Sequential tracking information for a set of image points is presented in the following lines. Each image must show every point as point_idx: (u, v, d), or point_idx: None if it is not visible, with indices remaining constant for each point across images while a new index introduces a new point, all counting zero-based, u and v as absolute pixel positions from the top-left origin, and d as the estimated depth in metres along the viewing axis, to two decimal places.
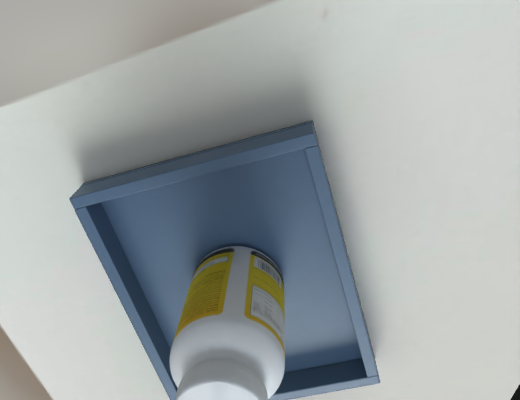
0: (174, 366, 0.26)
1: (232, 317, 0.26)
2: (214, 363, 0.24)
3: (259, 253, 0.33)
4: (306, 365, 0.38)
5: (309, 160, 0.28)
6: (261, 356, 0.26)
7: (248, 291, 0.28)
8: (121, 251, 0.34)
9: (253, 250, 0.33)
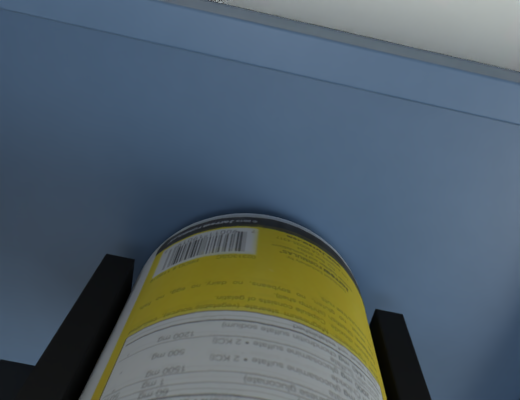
0: None
1: None
2: None
3: (177, 234, 0.13)
4: None
5: None
6: None
7: (104, 375, 0.09)
8: None
9: (165, 241, 0.13)
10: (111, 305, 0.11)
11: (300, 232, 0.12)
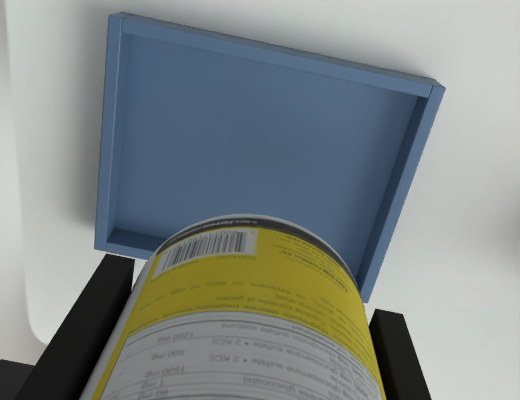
0: None
1: None
2: None
3: (177, 234, 0.13)
4: (393, 154, 0.32)
5: (134, 33, 0.28)
6: None
7: (104, 375, 0.09)
8: None
9: (165, 242, 0.13)
10: (111, 305, 0.11)
11: (300, 233, 0.12)
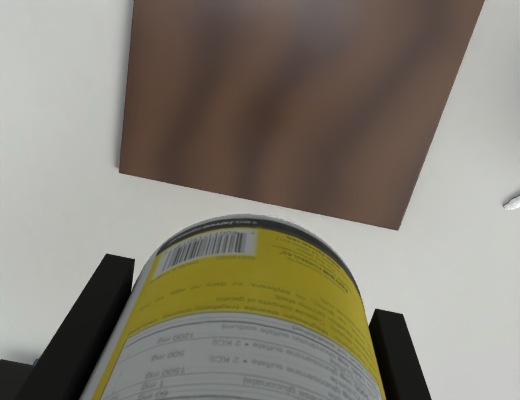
0: None
1: None
2: None
3: (177, 235, 0.13)
4: None
5: None
6: None
7: (104, 376, 0.09)
8: None
9: (165, 242, 0.13)
10: (111, 305, 0.11)
11: (300, 233, 0.12)
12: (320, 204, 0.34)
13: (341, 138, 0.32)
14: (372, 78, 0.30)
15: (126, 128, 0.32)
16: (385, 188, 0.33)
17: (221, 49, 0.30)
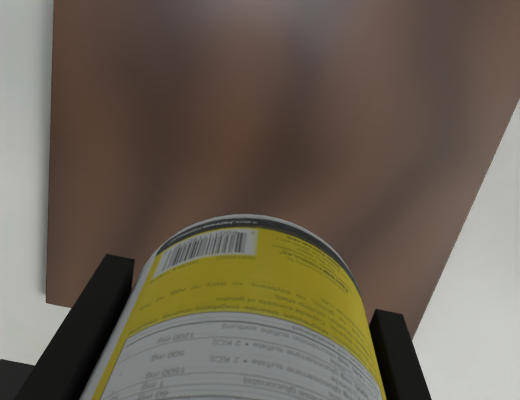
0: None
1: None
2: None
3: (177, 234, 0.13)
4: None
5: None
6: None
7: (104, 376, 0.09)
8: None
9: (165, 242, 0.13)
10: (111, 305, 0.11)
11: (300, 233, 0.12)
12: None
13: None
14: (365, 201, 0.23)
15: (50, 253, 0.25)
16: None
17: (168, 164, 0.23)
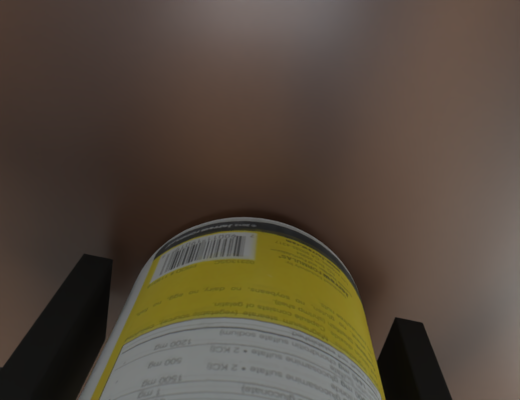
0: None
1: None
2: None
3: (175, 238, 0.12)
4: None
5: None
6: None
7: (99, 383, 0.08)
8: None
9: (163, 245, 0.13)
10: (85, 306, 0.11)
11: (299, 236, 0.12)
12: None
13: None
14: None
15: None
16: None
17: None
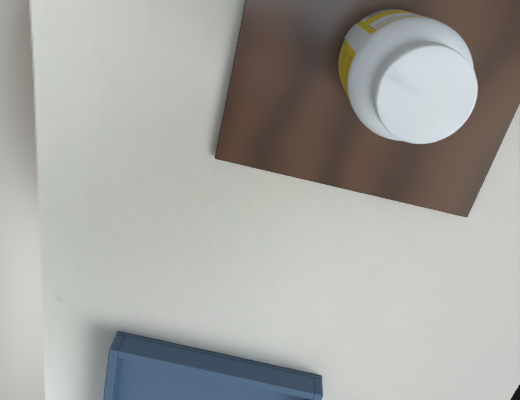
0: (373, 124, 0.26)
1: (363, 44, 0.25)
2: (377, 73, 0.24)
3: (363, 17, 0.32)
4: None
5: (125, 358, 0.44)
6: (412, 35, 0.24)
7: (366, 29, 0.28)
8: None
9: None
10: None
11: None
12: (397, 191, 0.37)
13: None
14: None
15: (225, 118, 0.36)
16: (458, 177, 0.37)
17: (320, 48, 0.33)
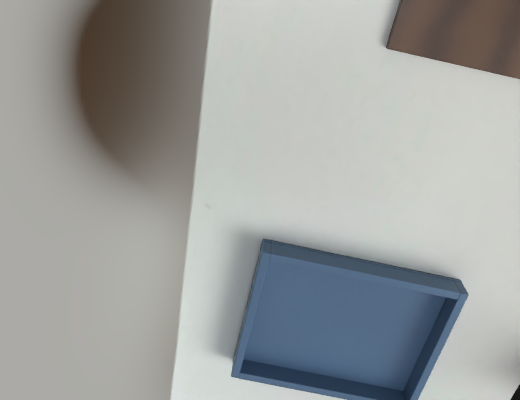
0: None
1: None
2: None
3: None
4: (432, 321, 0.49)
5: (277, 261, 0.45)
6: None
7: None
8: (281, 369, 0.52)
9: None
10: None
11: None
12: None
13: None
14: None
15: (403, 4, 0.37)
16: None
17: None
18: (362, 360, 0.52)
